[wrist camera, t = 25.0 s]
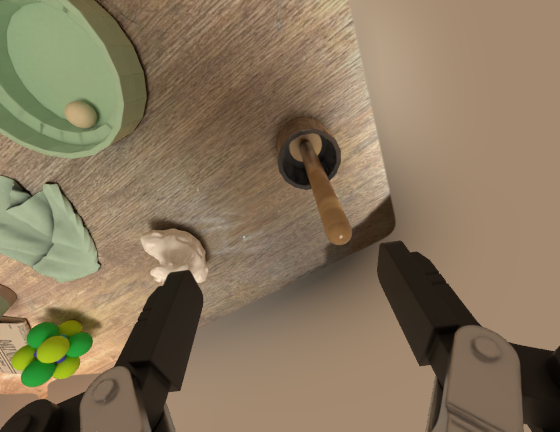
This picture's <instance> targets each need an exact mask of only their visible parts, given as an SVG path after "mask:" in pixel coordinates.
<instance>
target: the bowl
mask: <svg viewBox="0 0 560 432" xmlns="http://www.w3.org/2000/svg"><path fill="white" fill-rule="evenodd" d="M146 99H147V95H146V87H145V79H144V72H143V70H142V67H141V65H140V62H139V60H138V57H137V55H136V52H135V50H134V47H133V45H132V44H131V42H130V41H129V39H128V38H127V37H126V35H125V34H124V32H123V31H122V29H121V28H120V27H119V25H118V24H117V22H116V21H115V19H114V18H113V17H112V16H111V15H110V14H108V13H107V12H106V11H105V10H104V9H103V8H102V7H101V6H100V5H99V4H98V3H97V2H96V1H95V0H0V133H1V134H2V135H4V136H6V137H7V138H9V139H11V140H12V141H14V142H16V143H17V144H19V145H21V146H23V147H26V148H29V149H31V150H34V151H37V152H39V153H42V154H45V155H48V156H55V157H63V158H70V159H74V158H80V157H86V156H92V155H95V154H97V153H98V152H100V151H102V150H104V149H105V148H107V147H109V146H110V145H112V144H114V143H116V142H117V141H119V140H121V139H122V138H124V137H126V136H127V135H129V134H131V133H132V132H133V131H134V130H135V128H136V127H137V125H138V124H139V122H140V121H141V119H142V118H143V114H144V109H145V104H146ZM73 101H81V102H84V103H86V104H88V105H90V106H91V107H92V108H93V109H94V111H95V112H96V115H97V121H96V123H95V125H94V126H92V127H90V128H79V127H76V126H74V125H73V124H71V123H70V122H69V121H68V120H67V118H66V116H65V113H64V110H65V107H66V105H67V104H68V103H70V102H73Z"/></svg>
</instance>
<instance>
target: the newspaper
mask: <svg viewBox="0 0 560 432" xmlns="http://www.w3.org/2000/svg"><path fill="white" fill-rule="evenodd" d="M29 331H30V328H29V326H28V324H27V322H26V320H25V319H24V318H9V317H1V318H0V373H12V374H22V372H23V371H20V370H16V369H15V368H13V366H12V364H11V360H12V357H13V355H14V354H15V352H16V351H17V350H19V349H20V348H21V347H23V346H25V345H28V344H27V341H26V337H27V334H28V333H29Z"/></svg>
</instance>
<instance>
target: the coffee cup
mask: <svg viewBox="0 0 560 432" xmlns="http://www.w3.org/2000/svg"><path fill="white" fill-rule="evenodd" d="M15 300H16V295H15V293H14V292H13V291H12V290H10V289H9V288H7V287H5V286H2V285H0V318H1V317H2V316H3V315H4V313H5V312H6V311H7V310H8V309H9V307H10V306H11V305H12V304H13V303H14V301H15Z"/></svg>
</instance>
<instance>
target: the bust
mask: <svg viewBox="0 0 560 432" xmlns="http://www.w3.org/2000/svg"><path fill="white" fill-rule="evenodd" d="M141 243H142V246H143V248H144V250H145V251H146V252H147V253H148V254H150V255H151V256H154V257H155V258H156V259H158V260H159V261H160V264H161V266H157V267H156V268H154V269H152V270H151V275H152V276H154V280H155V281H156V282H161V281H162V282H163V284H164V282H165V280H166V278H167V276H168V274H169V273H170V272H176V271H183V270H190V271H191V273H192V275H193V276H194V278H195V280H196V282H197V283H201V282H203V281H205V280H206V277H207V273H208V268H207V265H206V260H205V254H206V252H205V250H204V249H203V247H202V246H201V243H200V241H199V240H197V239H196V238H195V237H194V236H192V235H191V234H190V233H188V232H186V231H180V230H177V229H174V228H173V229H168V230H151V231H149V232H147V233H145V234H143V235H142V236H141Z"/></svg>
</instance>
